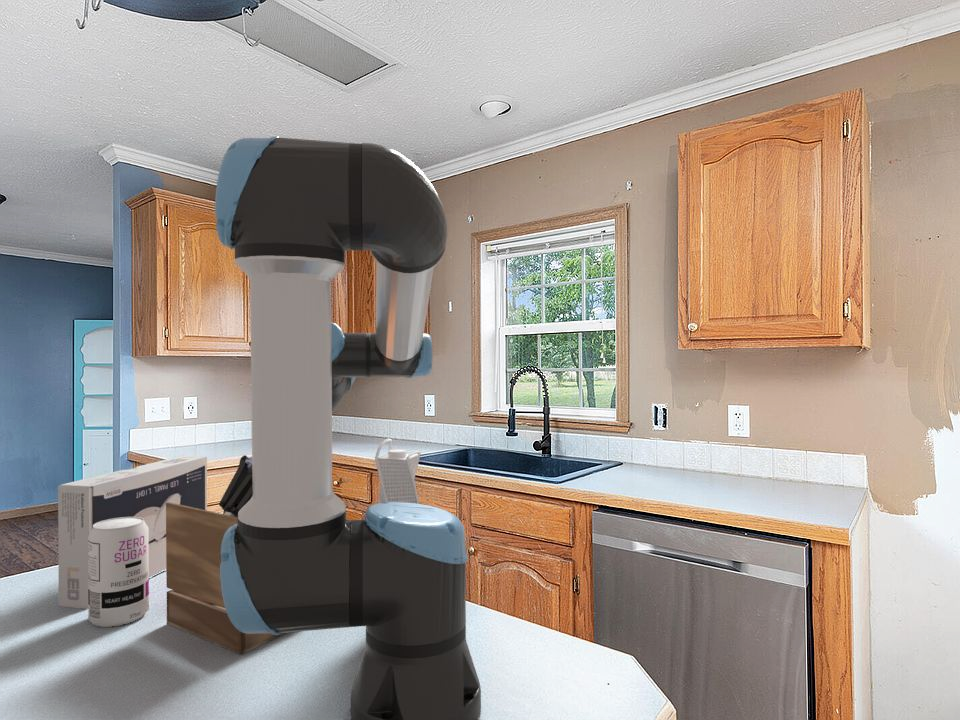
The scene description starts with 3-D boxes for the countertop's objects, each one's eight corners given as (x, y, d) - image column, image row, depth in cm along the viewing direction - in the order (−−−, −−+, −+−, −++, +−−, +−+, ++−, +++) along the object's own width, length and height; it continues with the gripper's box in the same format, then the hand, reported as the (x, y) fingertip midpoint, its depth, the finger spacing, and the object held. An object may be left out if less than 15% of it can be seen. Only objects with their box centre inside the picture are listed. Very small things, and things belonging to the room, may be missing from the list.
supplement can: (110, 606, 100) (110, 515, 100) (159, 607, 100) (159, 516, 100) (76, 628, 92) (75, 529, 92) (129, 629, 92) (128, 530, 92)
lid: (169, 586, 94) (169, 502, 94) (240, 611, 84) (240, 517, 84) (166, 587, 93) (165, 502, 93) (237, 612, 84) (237, 518, 84)
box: (245, 593, 106) (245, 565, 105) (318, 617, 96) (318, 586, 96) (166, 624, 94) (166, 591, 94) (241, 654, 84) (241, 618, 84)
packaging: (89, 609, 100) (89, 486, 99) (58, 605, 101) (57, 485, 101) (208, 550, 129) (207, 456, 129) (182, 548, 130) (182, 455, 130)
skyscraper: (362, 615, 97) (362, 439, 96) (410, 605, 101) (409, 436, 100) (381, 637, 89) (380, 446, 89) (431, 624, 93) (431, 442, 93)
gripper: (334, 446, 103) (251, 575, 89) (282, 440, 110) (198, 559, 96) (309, 418, 98) (217, 550, 85) (257, 413, 105) (165, 534, 92)
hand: (207, 554), depth 90 cm, fingers closed
